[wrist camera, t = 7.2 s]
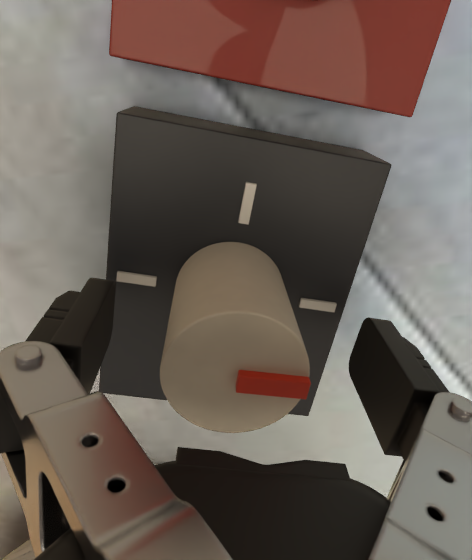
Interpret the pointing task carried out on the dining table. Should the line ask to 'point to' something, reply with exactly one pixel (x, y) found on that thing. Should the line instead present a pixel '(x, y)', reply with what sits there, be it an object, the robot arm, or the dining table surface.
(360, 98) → the button housing
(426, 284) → the dining table surface
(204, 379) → the knob
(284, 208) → the control panel
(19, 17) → the dining table surface
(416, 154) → the dining table surface
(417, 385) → the robot arm
